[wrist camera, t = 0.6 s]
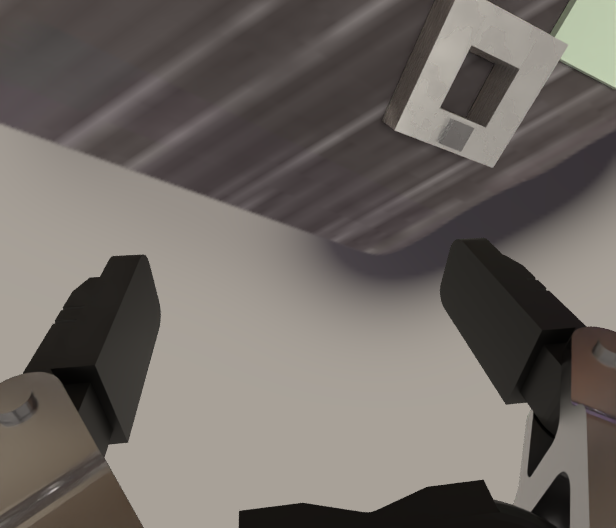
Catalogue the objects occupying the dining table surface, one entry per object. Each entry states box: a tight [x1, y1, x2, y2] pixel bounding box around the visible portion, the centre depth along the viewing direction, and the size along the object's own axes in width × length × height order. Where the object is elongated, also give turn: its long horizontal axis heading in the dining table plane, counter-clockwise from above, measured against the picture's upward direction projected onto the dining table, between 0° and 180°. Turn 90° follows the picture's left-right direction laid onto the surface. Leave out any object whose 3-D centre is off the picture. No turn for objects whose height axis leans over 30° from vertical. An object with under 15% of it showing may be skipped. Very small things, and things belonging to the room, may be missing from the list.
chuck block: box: [382, 0, 568, 168], centre depth 31 cm, size 10×10×4 cm
